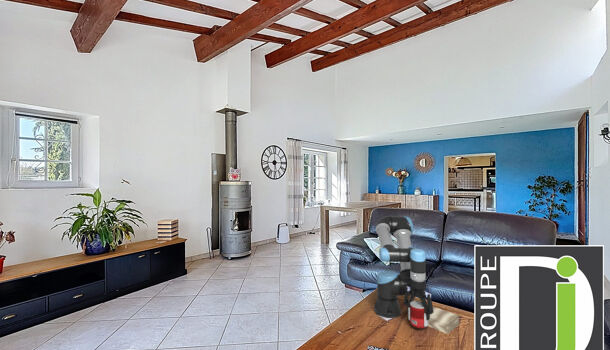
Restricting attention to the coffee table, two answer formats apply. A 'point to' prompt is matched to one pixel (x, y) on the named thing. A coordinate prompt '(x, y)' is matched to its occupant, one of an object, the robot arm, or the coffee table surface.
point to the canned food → (417, 314)
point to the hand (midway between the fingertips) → (418, 322)
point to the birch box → (443, 320)
